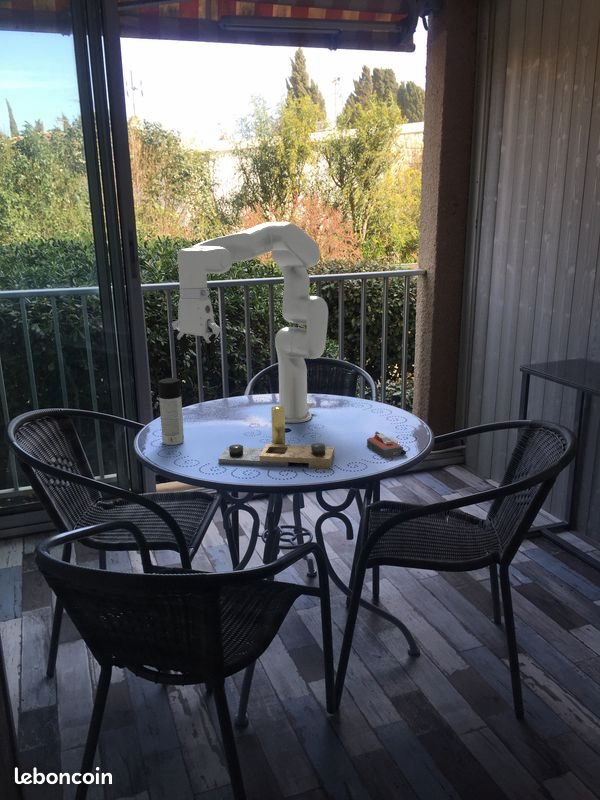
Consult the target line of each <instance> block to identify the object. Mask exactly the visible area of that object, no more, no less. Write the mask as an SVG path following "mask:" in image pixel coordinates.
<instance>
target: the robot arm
mask: <svg viewBox="0 0 600 800" xmlns="http://www.w3.org/2000/svg"><path fill="white" fill-rule="evenodd" d="M269 252H270V253H271V257H272V260H273V261H274V263H275V264H276V266H278V268H279V269H280V271H281V273H282V276H283V296H282V306H281V307H282V308H281V310H282V311H281V313H282V318H283V319H284V320H285V321H287V322H288V323H293V324H297V325H299V324H300V325H306V328H304V327H295V326H286V327H282V328H280V329H279V330H278V331H277V333H276V334H275V338H274V339H275V340H274V345H275V350H276V354H277V361H278V362H277V363H278V391H279V392H278V396H279V397H278V398H279V403H278V404H279V405H278V406H284V407H285V424H286V423H287V424H290V423H291V424H296V423H297V424H298V423H305V422H307V421H310V420H311V419H312V415H313V414H312V412H310V411H309V410H310V409H312V408H315V406H316V404H315V402H313V401H311V402H308V381H307V380H308V376H307V374H308V369H307V364H306V361H305V358H306V359H312V360H314V359H318V358H320V357H321V356H322V355H323V353H324V351H325V348H326V344H327V343H326V342H327V341H326V340H327V333H328V332H327V331H328V322H329V307H328V303H327V302H326V301H325V299H324V298H323V297H321V296H317V295H310V284H311V283H310V282H311V281H310V276H309V273H308V271H307V269H309V268H310V269H311V268H313V267H315V266H317V264H318V263H319V261H320V257H321V250H320V247H319V245H318V243H317V242H316V241H315V240H314V239H313V238H312V237H310V235H309V234H307V233H306V232H305V231H304V230H303V229H302V228H301V227H299V226H298V225H296V224H294V223H292V222H289V221H269V222H264V223H263V222H262V223H261V224H259V225H258V224H257V225H256V226H253V227H251V228H248V229H245V230H243V231H239V232H235V233H231V234H227V235H225V236H219V237H215V238H211V239H208V240H205V241H202V242H199V243H197V244H195V245H192V246H191V247H190V248H189V247H188V248H186V247H185V248H181V249H179V251H178V252H177V262H178V263H177V265H178V278H179V279H178V281H179V294H180V295H179V297H180V298H179V300H178V309H177V311H178V312H177V318H178V319H176V320H175V321H172V323H171V326H172V329H173V332H174V334H175V335H176V338H177V340H178V342H179V344H178V345H179V353H180V354H185V353H189V351H190V344H189V338H188V336H191V335H192V336H201V337H203V339H204V340H205V343H204V351H205V352H204V355H205V357H206V358H210V357H211V358H212V357H214V356H215V354H216V353H215V342H216V341H217V339H218V338H219V337H220V336H219V335H220V332H221V329H222V328H221V327H220V326H219V325H218V324H216V323H215V317H214V311H213V309H214V308H213V304H212V301H211V299H210V298H209V297H208V296H210V291H209V290H208V278H207V277H208V276H207V275H208V274H212V275H213V274H214V275H215V274H216V275H217V274H218V275H220V274H225V273H226V272H228V271H229V270H231V268H232V266H233V264H234V263H238V262H245V261H251V260H253V259H255V258H257V257H260V256H263V255H265V254H267V253H269Z"/></svg>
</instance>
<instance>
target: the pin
mask: <svg viewBox="0 0 600 800" xmlns="http://www.w3.org/2000/svg"><path fill="white" fill-rule="evenodd" d="M270 409H271V412H270V413H271V444H281V445H286V422H285V407H284V406H279V405H274V406H271V408H270Z"/></svg>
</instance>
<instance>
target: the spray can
mask: <svg viewBox="0 0 600 800" xmlns="http://www.w3.org/2000/svg"><path fill="white" fill-rule="evenodd" d="M157 385H158V399H159V410H160V412H159V413H160V414H159V415H160V424H161V425H160V426H161V427H160V428H161V437H162V443H163V445H167V446H177V444H178V445H181V444H182V443H184V440H185V437H184V435H185V434H184V433H185V432H184V422H183V421H184V420H183V406H182V402H183V401H182V391H181V379H179V378H177V377H167V378H163V379H160V380H158V384H157Z"/></svg>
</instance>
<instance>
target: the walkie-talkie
mask: <svg viewBox="0 0 600 800" xmlns="http://www.w3.org/2000/svg"><path fill="white" fill-rule="evenodd" d="M366 447H367V448H368V449H370V450H372V451H373V452H374V453H376V454H378V455H379V456H381V457H383V458H384V459H388V458H395V457H401V456H403V455H405V456H406V454H407V451H406V450H405V449H404V446H402V445H401V444H399V443H398V440H396V439H395V438H394V437H392V436H389V437H388V436H387V435H385V434H384V433H380V432H379V431H375V432H374V436H371V437H369V438H367V439H366Z"/></svg>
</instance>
